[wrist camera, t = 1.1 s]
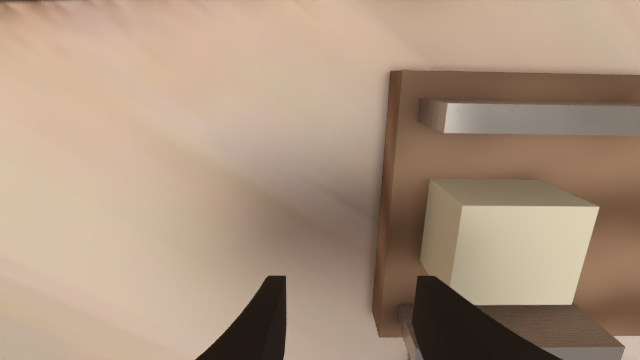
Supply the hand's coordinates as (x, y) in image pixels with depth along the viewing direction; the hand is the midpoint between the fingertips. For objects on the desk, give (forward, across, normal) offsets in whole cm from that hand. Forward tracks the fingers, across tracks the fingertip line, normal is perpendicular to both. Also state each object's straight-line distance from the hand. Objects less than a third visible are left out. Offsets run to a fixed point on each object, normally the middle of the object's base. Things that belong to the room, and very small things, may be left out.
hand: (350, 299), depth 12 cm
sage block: (+7, -8, 0) cm, 11 cm away
